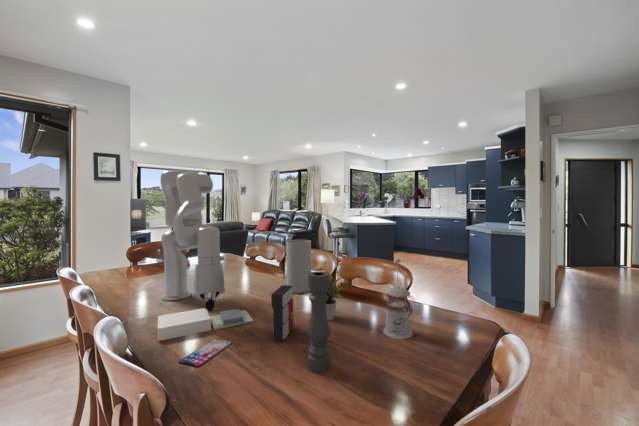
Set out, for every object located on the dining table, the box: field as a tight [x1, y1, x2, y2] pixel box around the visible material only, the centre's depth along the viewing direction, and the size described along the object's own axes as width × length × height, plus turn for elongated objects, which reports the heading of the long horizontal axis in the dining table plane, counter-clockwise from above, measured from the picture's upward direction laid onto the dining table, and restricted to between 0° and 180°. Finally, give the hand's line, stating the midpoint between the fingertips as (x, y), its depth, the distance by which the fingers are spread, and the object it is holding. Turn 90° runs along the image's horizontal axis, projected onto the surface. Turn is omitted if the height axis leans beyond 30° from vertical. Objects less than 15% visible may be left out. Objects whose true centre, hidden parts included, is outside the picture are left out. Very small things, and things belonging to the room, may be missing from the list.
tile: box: [219, 308, 243, 326], centre depth 107 cm, size 9×7×2 cm
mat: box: [209, 309, 255, 330], centre depth 108 cm, size 12×14×1 cm
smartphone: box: [178, 338, 233, 369], centre depth 84 cm, size 8×1×15 cm
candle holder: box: [306, 271, 332, 375], centre depth 75 cm, size 6×6×25 cm
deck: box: [157, 307, 212, 342], centre depth 100 cm, size 12×16×4 cm
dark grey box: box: [270, 284, 294, 342], centre depth 95 cm, size 11×4×15 cm, turn 168°
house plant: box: [326, 275, 347, 321], centre depth 109 cm, size 14×14×16 cm
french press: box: [382, 258, 416, 340], centre depth 96 cm, size 10×12×25 cm
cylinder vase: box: [285, 239, 312, 294], centre depth 144 cm, size 12×12×25 cm
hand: (209, 310), depth 104 cm, fingers closed
